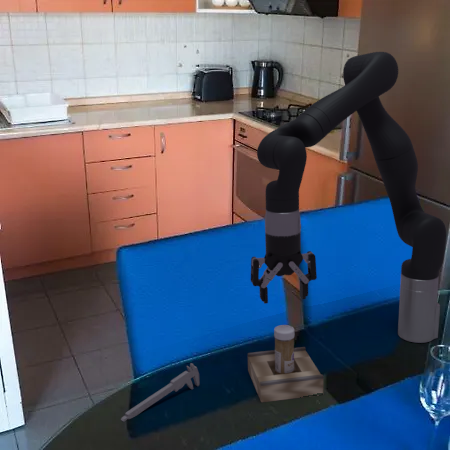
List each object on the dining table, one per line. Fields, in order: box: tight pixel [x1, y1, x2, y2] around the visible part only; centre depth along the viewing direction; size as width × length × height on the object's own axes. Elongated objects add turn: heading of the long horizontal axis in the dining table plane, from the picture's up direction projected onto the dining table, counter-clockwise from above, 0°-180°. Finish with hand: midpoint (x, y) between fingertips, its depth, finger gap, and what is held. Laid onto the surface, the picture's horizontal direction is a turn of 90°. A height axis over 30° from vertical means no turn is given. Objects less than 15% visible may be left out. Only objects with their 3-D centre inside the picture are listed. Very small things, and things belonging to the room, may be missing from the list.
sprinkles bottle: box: [273, 324, 296, 375], centre depth 134 cm, size 5×5×14 cm
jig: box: [247, 346, 324, 403], centre depth 135 cm, size 14×14×5 cm
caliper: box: [120, 362, 200, 423], centre depth 129 cm, size 20×1×6 cm, turn 131°
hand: (283, 300), depth 130 cm, fingers open, 8 cm apart
